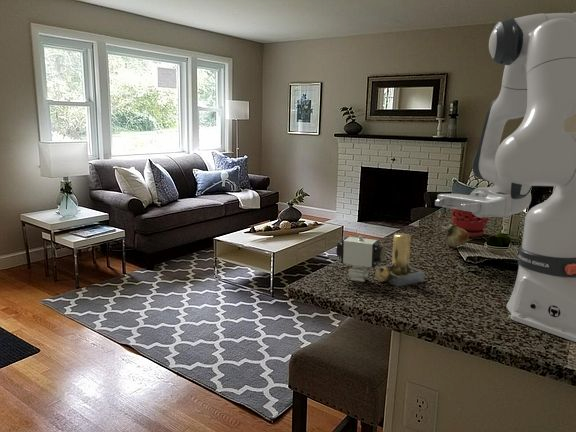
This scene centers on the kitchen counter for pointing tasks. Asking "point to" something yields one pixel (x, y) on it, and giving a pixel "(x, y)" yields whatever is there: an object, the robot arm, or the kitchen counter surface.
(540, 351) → the kitchen counter surface
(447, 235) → the onion
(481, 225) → the plant pot
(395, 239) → the pipe fitting
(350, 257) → the pneumatic valve
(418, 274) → the grey rectangular tray
